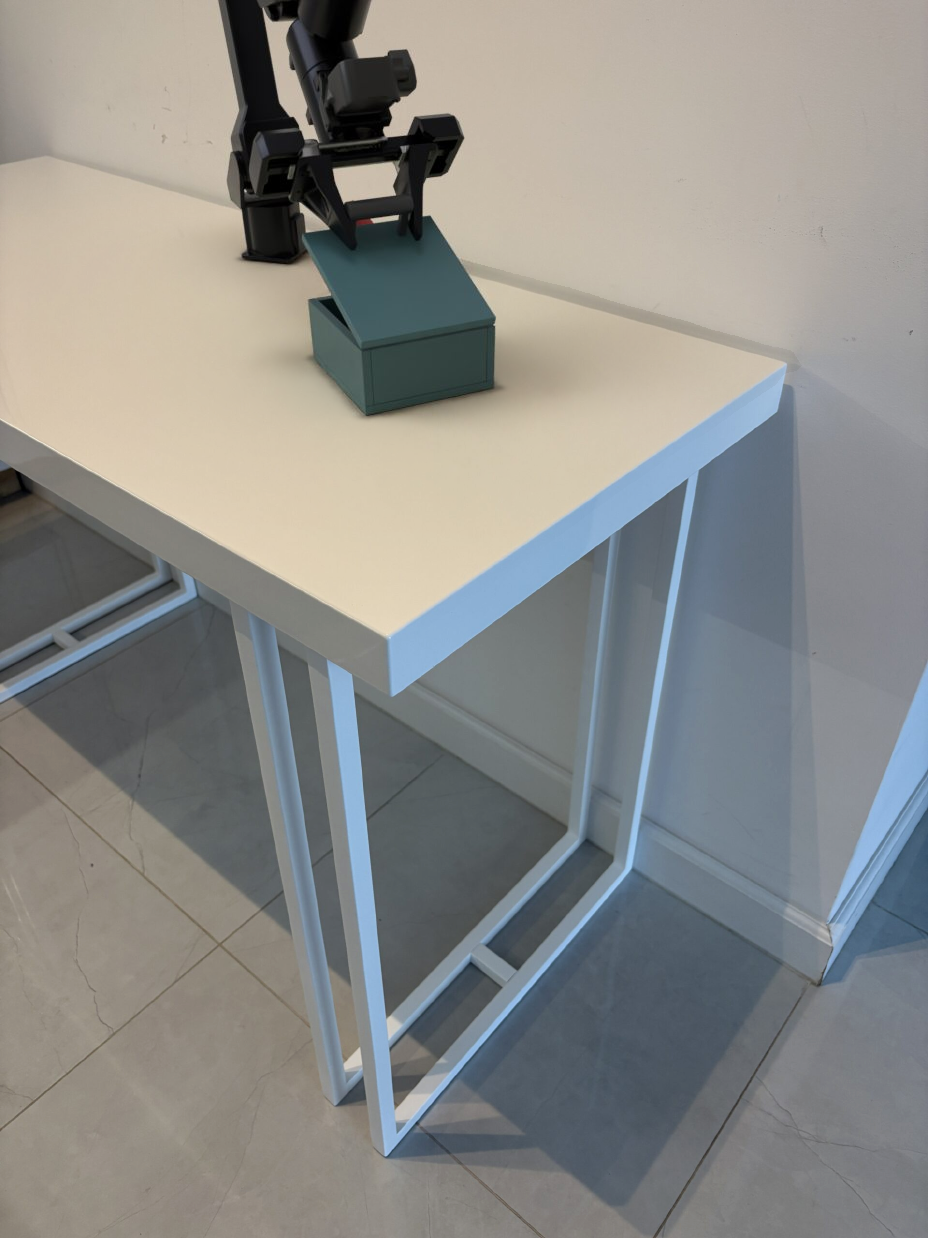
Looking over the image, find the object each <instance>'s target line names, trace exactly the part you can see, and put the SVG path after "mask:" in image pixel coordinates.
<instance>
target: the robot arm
mask: <svg viewBox="0 0 928 1238" xmlns="http://www.w3.org/2000/svg"><path fill="white" fill-rule="evenodd" d="M217 1H218V7H219V12H220V19H221V22H222V28H223V31H224V32H223V33H224V38H225V44H226V49H227V53H228V59H229V64H230V70H231V74H232V79H233V84H234V90H235V95H236V100H237V106H238V113H237V115H236V119H235V122H234V125H233V128H232V131H231V134H230V145H231V150H232V151H231V152H230V154H229V160H228V166H227V167H228V168H227V175H226V185H227V189H228V194H229V199H230V201H231V202H232V203H233V204H234V205H235V206H236V207H237V208H239V209H240V210H241V217H242V225H243V231H244V237H245V243H246V244H245V245H246V250H245V251H243V252H242V253H241V254H240V255H241V259H243V260H253V261H254V260H255V261H263V262H275V263H285V264H288V263H292V262H293V261H294V260H296V259H297V258H298V257H299V256H301V255H303V253H306V252H307V249H306V247H305V245H304V243H303V241H302V233H307V229H306V228H307V227H306V219H305V214H304V213H303V212H301V205H300V204H302V206H304V207H305V208H306V209H308V210H309V211H310V212H311V213H312V214H313V215H314V216H316V217H317V218H318V219H319V220H321V221H322V223H324V224H325V226H327V228H328V229H331V230H332V231H333V233H334V234H335V235H336V236H337V237H338V238H339V239H340V240H341V241H342V242H343V243H344V244H345V245H346V246H347V247H348V248H349V249H350V250H351V251H353V250H355V249H356V247H357V241H356V237H355V233H354V229H353V226H352V224H351V221H350V218H349V216H348V213H347V211H346V208H345V206H344V203H345V202H344V200H343V199H342V195H341V193H340V191H339V188H338V185H337V183H336V180H335V174H334V170H337V169H346V168H355V167H362V166H363V167H365V166H371V165H381V164H388V163H392V164H393V166H394V168H395V171H396V174H397V175H396V177H395V180H394V182H393V184H392V188H393V191H394V194H395V195H402V194H410V195H411V197H412V199H413V205H414V208H413V212H412V213H410V214H409V216H408V224H407V225H408V228H409V230H410V232H411V234H412V236H413V237H414V239H415V241H420V239H421V237H422V234H423V216H424V184H425V183H426V181H427V179H433V178H439V177H442V176H445V175H446V174H447V173H449V171H450V169H451V167H452V165H453V163H454V160H455V158H456V157H457V154H458V152H459V151H460V148H461V146H462V145H463V143H464V140H465V135H464V132H463V129H462V127H461V124H460V121H459V120H458V118H457V117H456V116H455V115H453V114H451V113H449V112H447V113H437V114H425V115H415V116H414V117H413V119H412V122H411V124H410V126H409V129H408V132H407V134H406V135H397V136H396V135H395V136H386V134H385V132H384V129H385V128H389V127H390V125H391V123H392V120H393V115H392V111H391V107H392V106H393V105H394V104H395V103H396V104H398V103H400V102H401V101H402V98H407V97H409V96H410V95H411V94H413V92H414V91H415V90H416V89H417V85H418V77H417V73H416V68H415V64H414V62H413V60H412V57H411V54H410V53H409V49H408V48H407V49H406V48H405V49H404V48H403V49H391V50H390V49H389V50H388V52H387V55H384V56H373V57H359V54H358V51H357V49H356V46H355V43H354V40H355V39H356V38H358V37H359V36H360V35H362V34H363V32H364V29H365V25H366V22H367V18H368V14H369V11H370V7H371V3H372V1H373V0H217ZM264 13H265V15H266V16H267V18H268V19H269V21H271V22H272V23H275V22H276V23H281V22H291V24H290V25H289V27H288V30H287V33H286V36H285V43H286V46H287V50H288V52H289V55H288V65H289V69H290V70H291V71H295V74H296V77H297V80H298V82H299V85H300V89H301V92H302V94H303V97H304V101H305V103H306V111H305V118H306V121H307V124H308V126H313V127H314V130H315V134H316V136H317V139H316V138H307V139H305V138H304V135H303V131H302V130H301V128H300V124H299V123H298V121H297V119H296V118H295V116H290V115H289V114H288V112H287V111H286V110H285V108H284V107H283V106H282V104H281V103H280V98H279V92H278V88H277V82H276V75H275V70H274V65H273V59H272V53H271V48H270V41H269V37H268V30H267V25H266V19H265V15H264Z"/></svg>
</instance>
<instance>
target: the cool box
mask: <svg viewBox="0 0 928 1238" xmlns="http://www.w3.org/2000/svg"><path fill="white" fill-rule="evenodd" d="M307 306H308V315H309V324H310V333H311V334H310V335H311V342H312V343H311V344H312V354H313V359H314V361H316V362H317V364H319V366H320V367H321V369H323V370H324V371H325V372H326V374H328V376H329V377H330V378H331V379H332V380H333V381H334V382H335V383H336V384H337V386H338V387H339V388H340V389H341V390H342V391H343V392H344V393H345V394H346V395H347V397H348V398H349V399H350V400H351V401H352V402H353V403H354V404H355V405H356V406H357V408H359V410H360V411H361V412H362V413H363V414H364V415H365V416H370V415H375V414H380V413H383V412H390V411H393V410H398V409H402V408H407V407H411V406H416V405H420V404H425V403H430V402H431V403H432V402H435V401H439V400H444V399H448V398H453V397H457V396H463V395H467V394H472V393H476V392H481V391H486V390H491V389H494V388H495V364H496V363H495V362H496V361H495V357H496V325H495V324H493V325H488V326H483V327H477V328H472V329H467V330H461V331H456V332H451V333H446V334H440V335H435V336H430V337H424V338H419V339H414V340H409V341H403V342H398V343H393V344H387V345H382V346H377V347H372V348H366V349H360V347H359V345H358V343H357V341H356V339H355V338H354V336H353V334H352V332H351V330H350V328H349V326H348V325H347V323H346V321H345V319H344V317H343V315H342V314H341V312H340V310H339V308H338V306H337V304H336V302H335V301H334V299H333V297H332V295H331V294H330V295H327V296H326V295H325V296H319V297H313V298H308V299H307Z"/></svg>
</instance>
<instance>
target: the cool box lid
mask: <svg viewBox="0 0 928 1238" xmlns="http://www.w3.org/2000/svg"><path fill="white" fill-rule="evenodd" d="M343 203H344V206H345V208H346V211H347V213H348V216H349V218H350V221H351V224H352V226H353V229H354V233H355V237H356V241H357V247H356V249H355V250H353V251H351V250H350V249H349V248H348V247H347V246H346V245H345V244H344V243H343V242H342V241H341V240H340V239H339V238H338V237H337V236H336V235H335V234H334V233H333V231H332V230H331V229H330V228H328V229H323V230H322V229H321V230H315V231H308V232H307V231H306V233H302V241H303V243H304V245H305V247H306V249H307V250H306V252H307V253H308V254H309V257H310V258H311V261H313V264H314V266H315V267H316V269H317V271H318V273H319V274H320V276H321V279H322V281H323V282H324V285H325V286H326V288H327V289H328V291H329V293H330V295H332V297H333V299H334V301H335V302H336V304H337V306H338V308H339V310H340V312H341V314H342V315H343V317H344V319H345V321H346V323H347V325H348V326H349V328H350V330H351V332H352V334H353V336H354V338H355V339H356V341H357V343H358V345H359V347H360V349H366V348H372V347H377V346H382V345H387V344H393V343H398V342H403V341H409V340H414V339H419V338H424V337H430V336H435V335H440V334H446V333H451V332H456V331H461V330H467V329H472V328H477V327H483V326H488V325H495V324H496V320H497V316H496V315H495V313H494V311H493V310H492V309H491V307H490V305H489V304H488V303H487V301H486V300H485V298H484V297H483V295H482V293H481V292H480V290H479V288H478V287H477V286H476V284H475V282H474V281H473V279H472V278H471V276H470V275H469V273H468V271H467V270H466V268H465V267H464V265H463V264H462V262H461V260H460V259H459V257H458V256H457V254H456V253H455V251H454V249H453V248H452V247H451V245H450V243H449V242H448V241H447V239H446V236H444V234H443V233H442V231H441V230H440V228H439V227H438V225H437V223H436V221H435V220H434V219H433V217H432V216H431V215H429V214H428V215H423V234H422V237H421V239H420V241H415V239H414V237H413V236H412V234H411V232H410V230H409V228H408V225H407V224H408V216H409V214H410V213H412V212H413V208H414V205H413V199H412V197H411V195H410V194H402V195H396V194H395V195H394V194H393V195H388V196H387V195H386V196H379V197H371V198H365V199H356V200H354V201H352V200H348V201H345V202H343ZM393 216H398V218H397V219H393V220H388V221H387V220H386V221H380V222H379V221H378V222H373V223H372V224H364V225H357V226H356V221H359V220H366V219H371V220H372V219H380V218H386V217H387V218H388V217H393Z"/></svg>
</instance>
